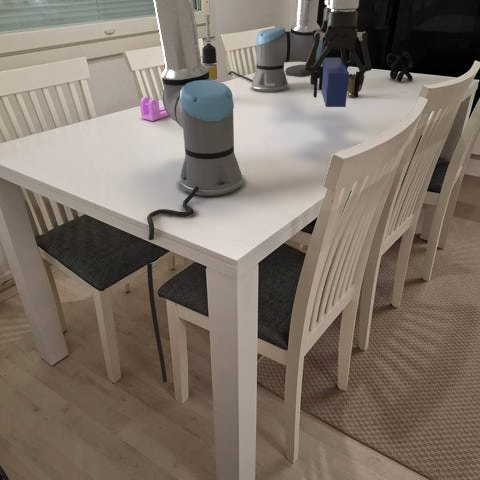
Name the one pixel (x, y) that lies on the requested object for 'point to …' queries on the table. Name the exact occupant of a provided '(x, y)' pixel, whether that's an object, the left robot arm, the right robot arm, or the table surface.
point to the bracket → (151, 109)
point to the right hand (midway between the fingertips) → (330, 88)
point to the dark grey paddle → (297, 70)
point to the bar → (334, 82)
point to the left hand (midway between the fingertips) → (335, 96)
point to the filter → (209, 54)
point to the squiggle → (399, 66)
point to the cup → (352, 85)
